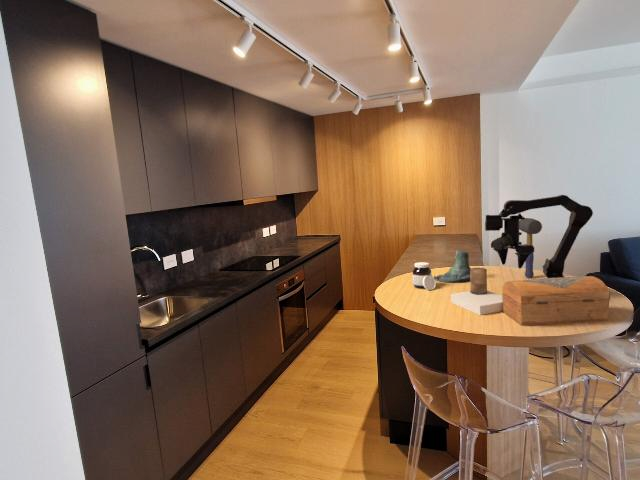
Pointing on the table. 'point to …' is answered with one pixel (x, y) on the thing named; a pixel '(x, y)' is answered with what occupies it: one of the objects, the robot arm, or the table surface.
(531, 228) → the rubber mallet
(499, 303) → the white board
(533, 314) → the wooden box
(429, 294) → the table surface
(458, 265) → the tree stump
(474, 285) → the walnut peg
